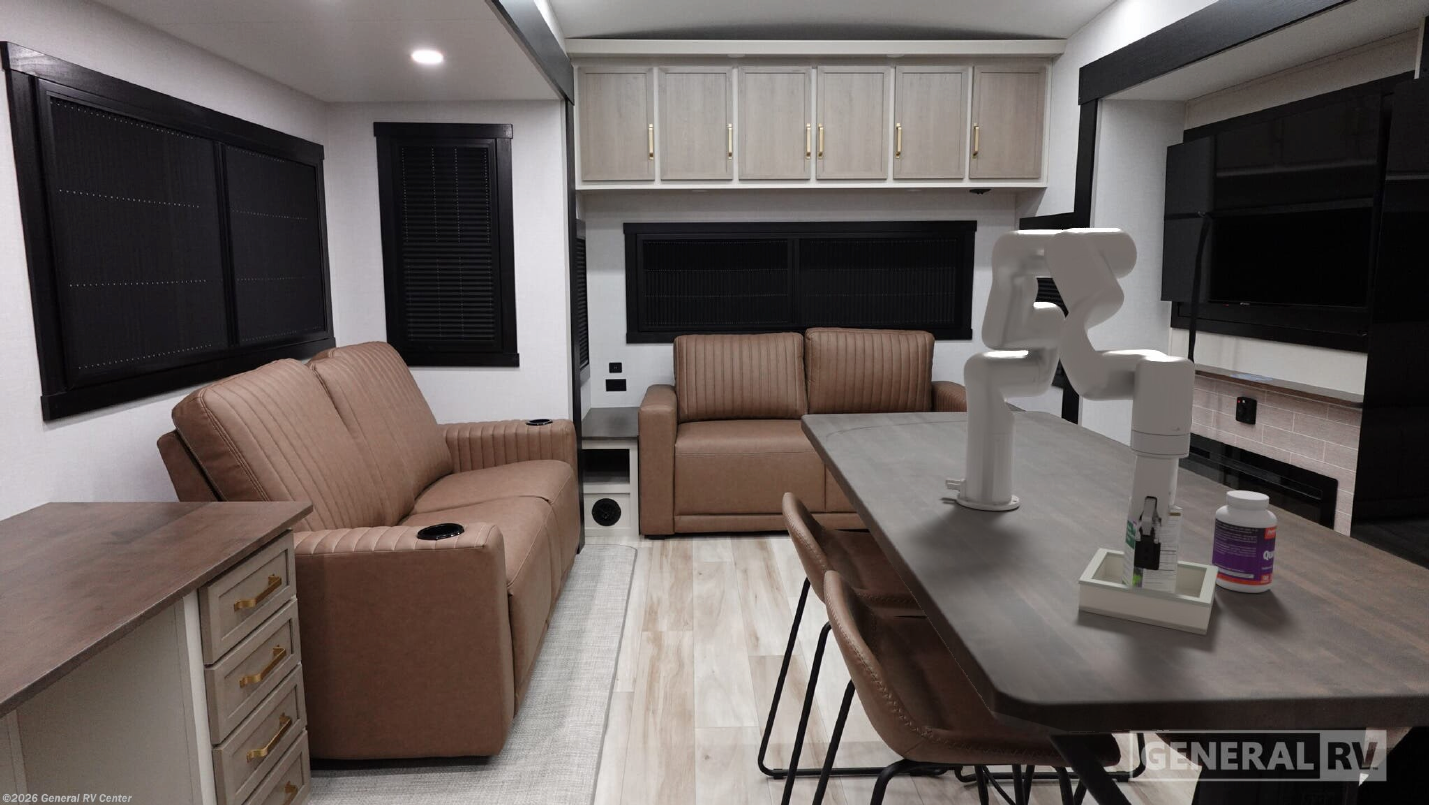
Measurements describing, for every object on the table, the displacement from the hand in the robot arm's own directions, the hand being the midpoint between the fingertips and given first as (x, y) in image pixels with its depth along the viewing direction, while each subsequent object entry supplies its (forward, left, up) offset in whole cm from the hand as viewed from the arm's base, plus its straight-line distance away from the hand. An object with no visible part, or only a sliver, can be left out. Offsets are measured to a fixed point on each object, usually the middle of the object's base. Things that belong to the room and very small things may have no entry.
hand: (1150, 558), depth 125 cm
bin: (0, 0, -7) cm, 7 cm away
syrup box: (0, 0, -6) cm, 6 cm away
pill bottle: (+11, +15, -7) cm, 20 cm away
